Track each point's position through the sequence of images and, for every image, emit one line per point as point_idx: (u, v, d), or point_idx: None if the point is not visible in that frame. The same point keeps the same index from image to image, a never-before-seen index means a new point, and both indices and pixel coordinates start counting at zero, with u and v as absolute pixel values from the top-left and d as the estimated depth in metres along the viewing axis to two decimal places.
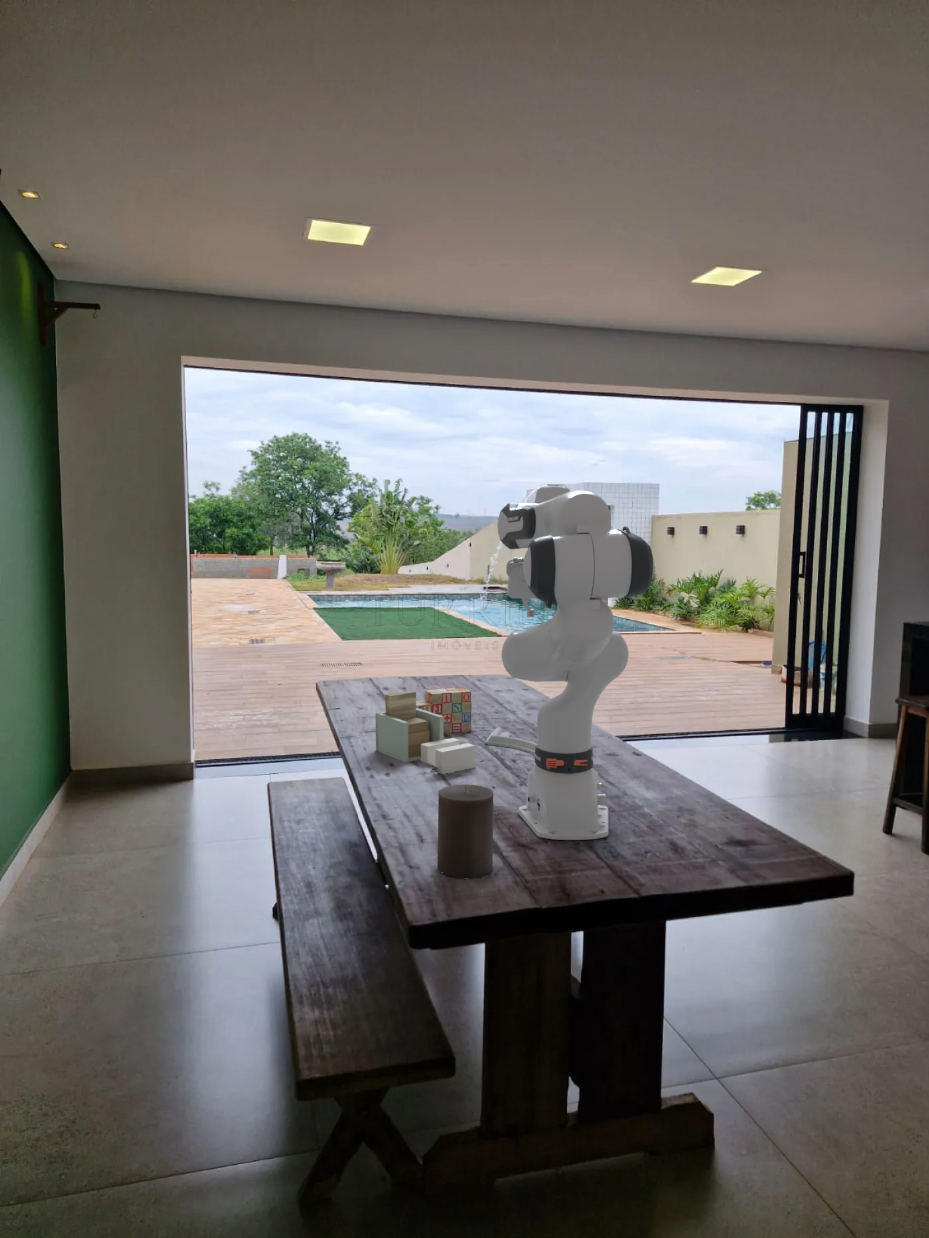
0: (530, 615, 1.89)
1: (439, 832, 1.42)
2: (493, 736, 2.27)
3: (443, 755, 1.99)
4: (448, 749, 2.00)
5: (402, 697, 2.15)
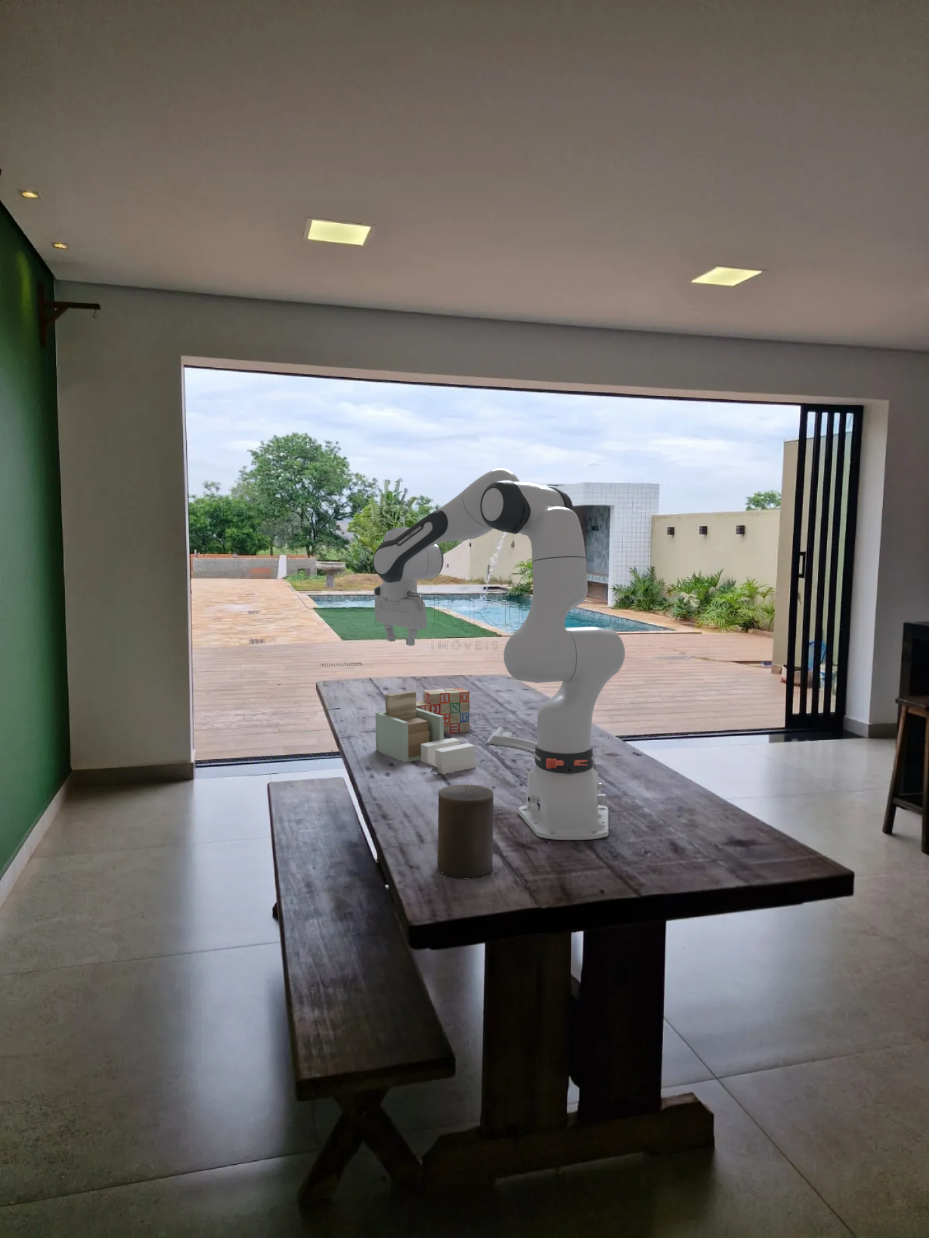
0: None
1: (439, 832, 1.42)
2: (495, 736, 2.27)
3: (443, 755, 1.99)
4: (448, 749, 2.00)
5: (402, 697, 2.15)
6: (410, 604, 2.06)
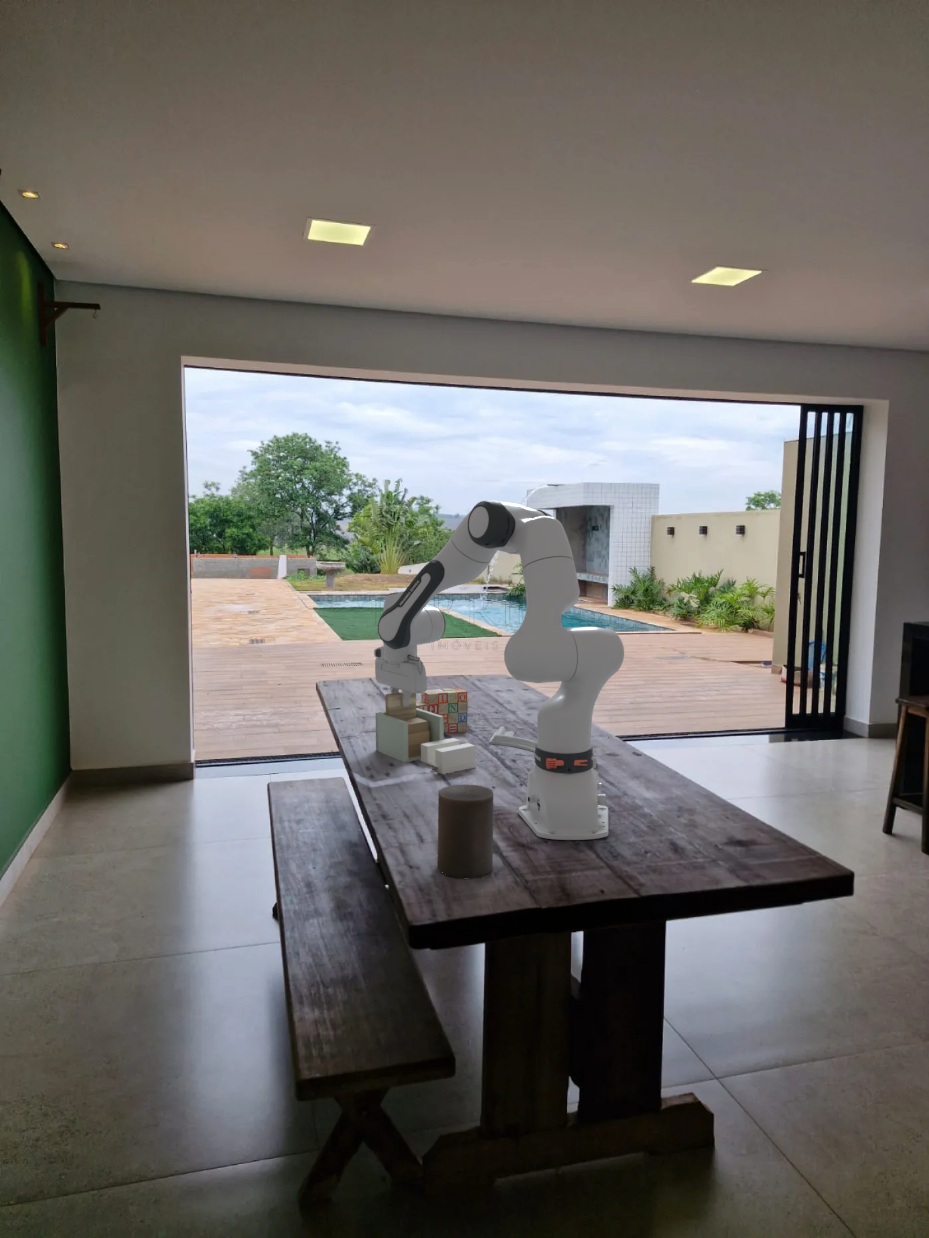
0: None
1: (439, 832, 1.42)
2: (497, 735, 2.28)
3: (443, 755, 1.99)
4: (448, 749, 2.00)
5: (402, 697, 2.15)
6: (410, 669, 2.08)
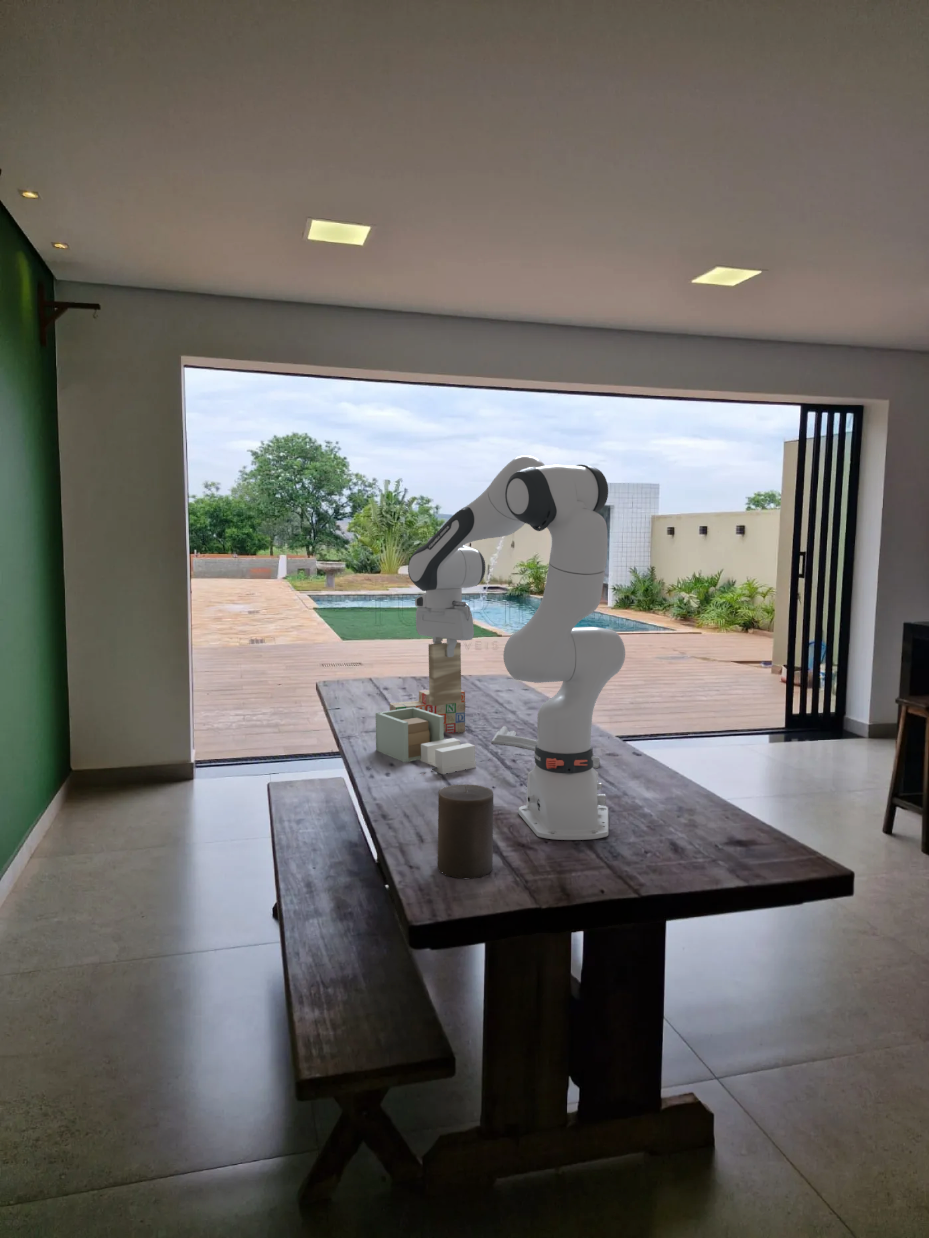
0: None
1: (439, 832, 1.42)
2: (499, 735, 2.28)
3: (443, 755, 1.99)
4: (448, 749, 2.00)
5: None
6: (456, 614, 1.95)
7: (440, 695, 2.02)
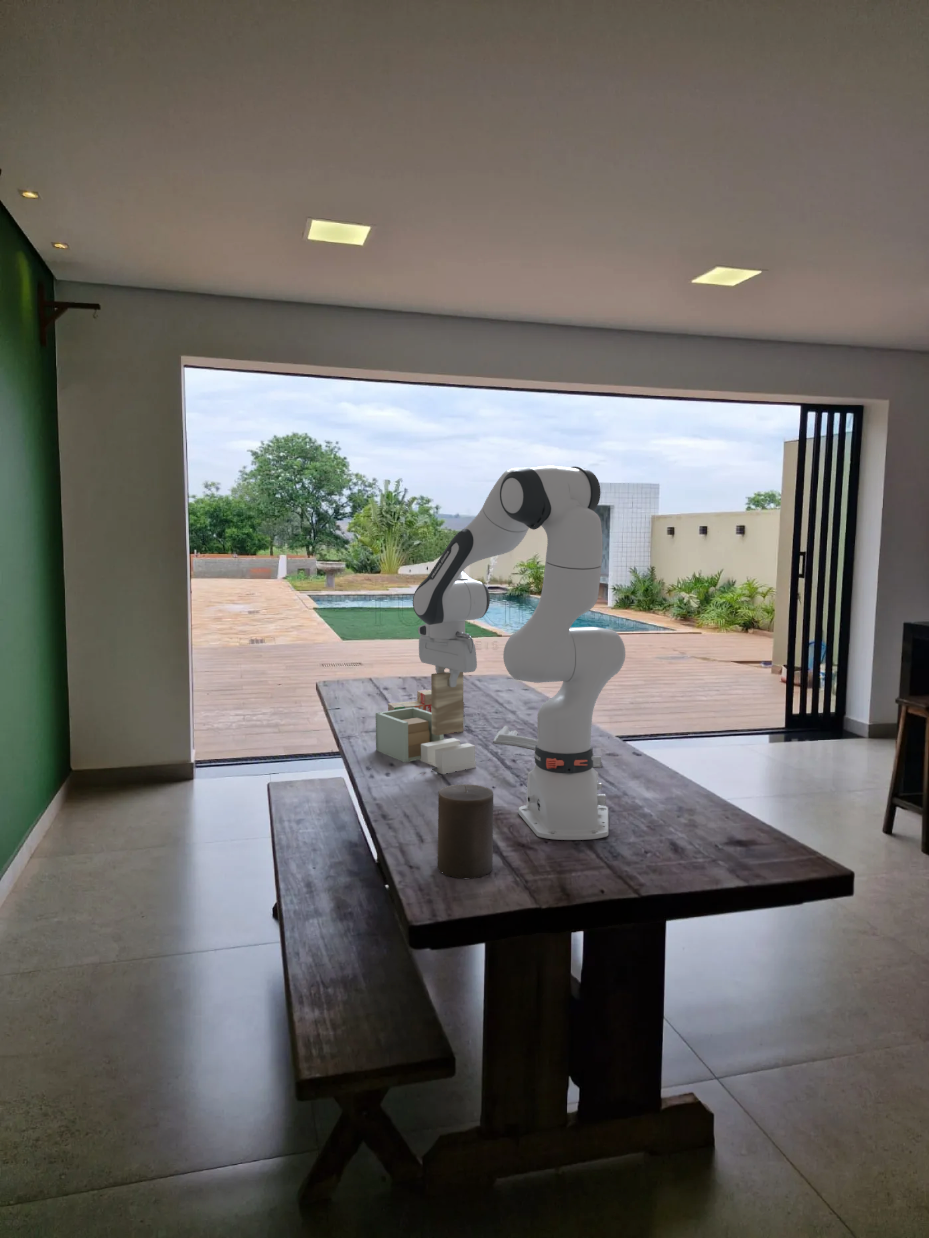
0: None
1: (439, 832, 1.42)
2: (501, 735, 2.29)
3: (443, 755, 1.99)
4: (448, 749, 2.00)
5: (449, 677, 2.02)
6: (459, 646, 1.95)
7: (443, 725, 2.02)
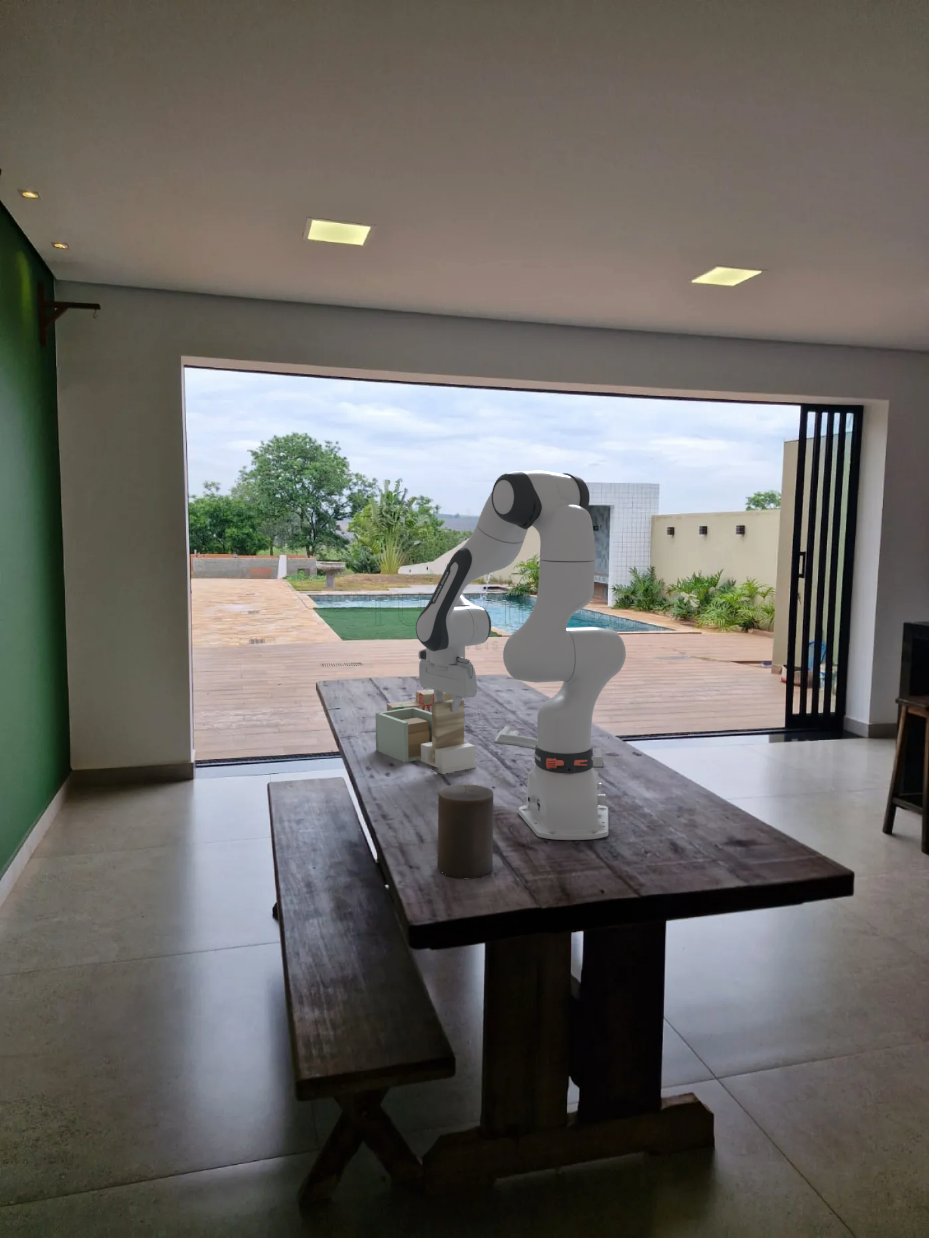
0: None
1: (439, 832, 1.42)
2: (502, 735, 2.29)
3: (443, 755, 1.99)
4: (448, 749, 2.00)
5: None
6: (459, 672, 1.96)
7: None
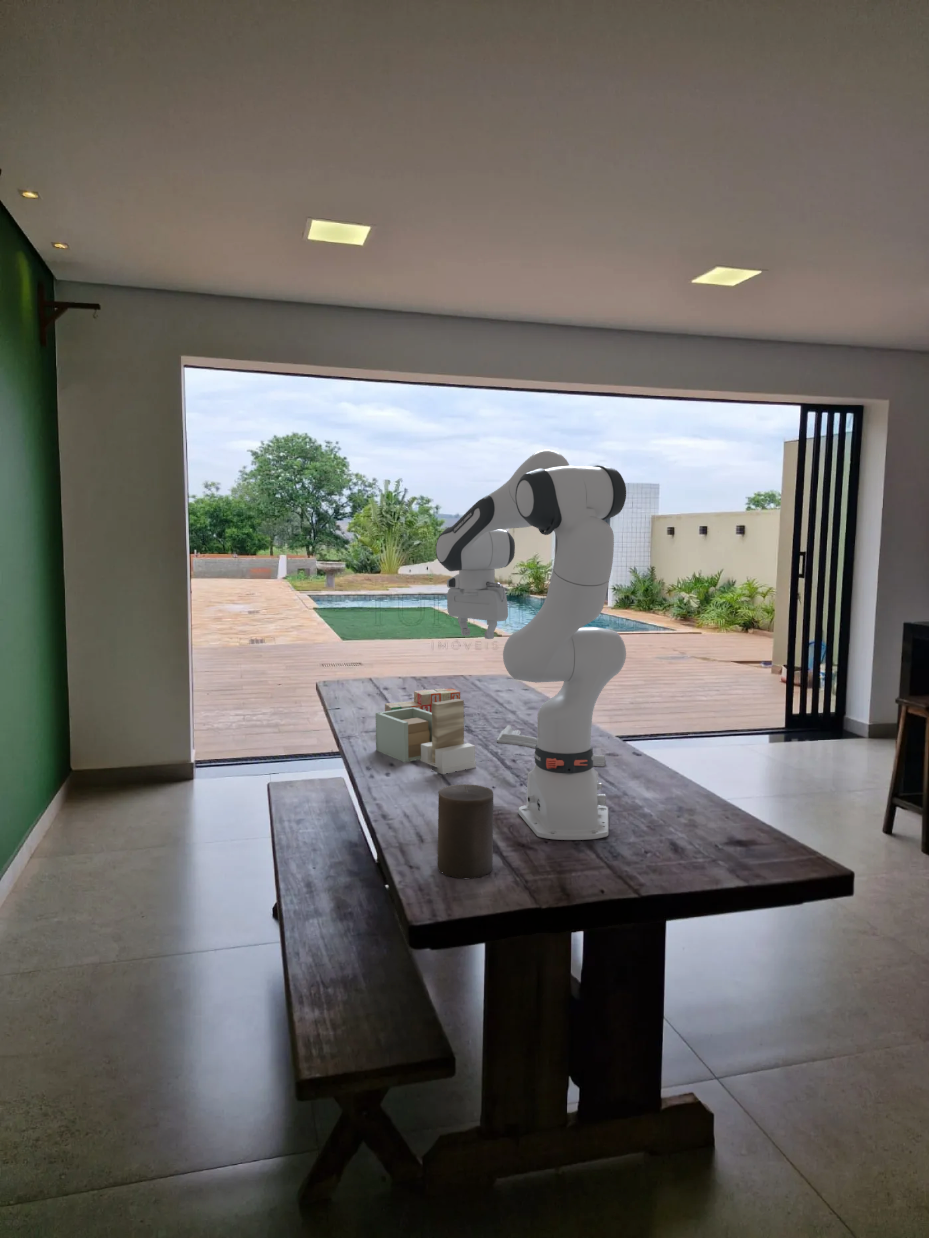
0: None
1: (439, 832, 1.42)
2: (504, 734, 2.29)
3: (443, 755, 1.99)
4: (448, 749, 2.00)
5: (450, 706, 2.03)
6: (490, 595, 1.95)
7: None
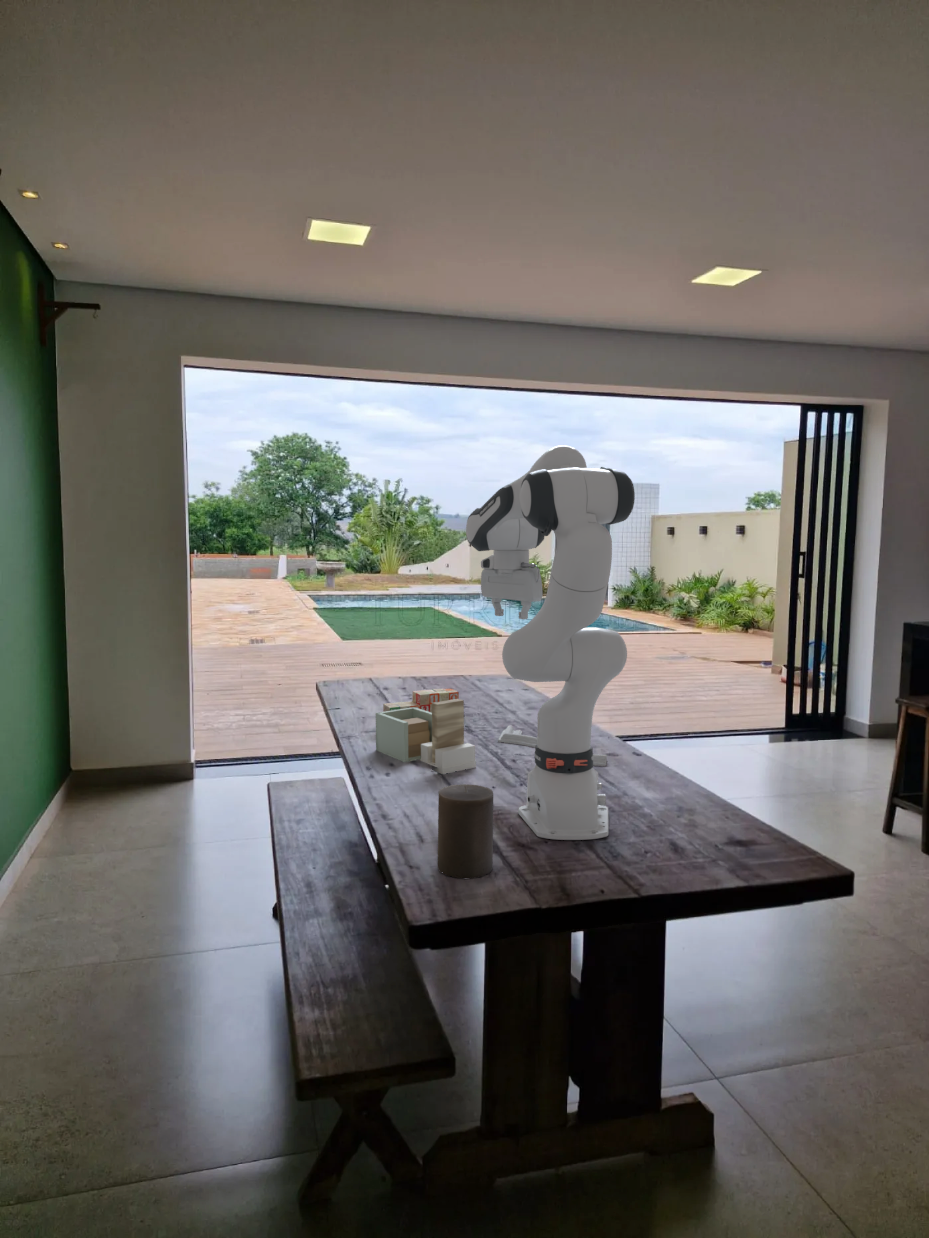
0: None
1: (439, 832, 1.42)
2: (506, 734, 2.29)
3: (443, 755, 1.99)
4: (448, 749, 2.00)
5: (450, 706, 2.03)
6: (525, 576, 1.97)
7: None
